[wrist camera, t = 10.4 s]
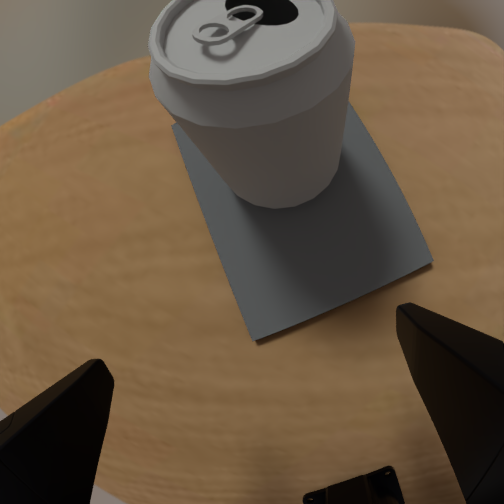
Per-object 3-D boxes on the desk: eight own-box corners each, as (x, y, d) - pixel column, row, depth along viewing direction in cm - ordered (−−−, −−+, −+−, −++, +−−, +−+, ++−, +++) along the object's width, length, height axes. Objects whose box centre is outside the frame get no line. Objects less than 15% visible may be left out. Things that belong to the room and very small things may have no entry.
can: (362, 146, 19) (399, -2, 7) (288, 238, 19) (247, 148, 7) (271, 88, 20) (230, -55, 9) (198, 167, 20) (92, 53, 9)
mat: (430, 261, 18) (433, 260, 17) (254, 340, 19) (252, 341, 19) (320, 66, 21) (320, 61, 20) (174, 129, 23) (171, 125, 22)
